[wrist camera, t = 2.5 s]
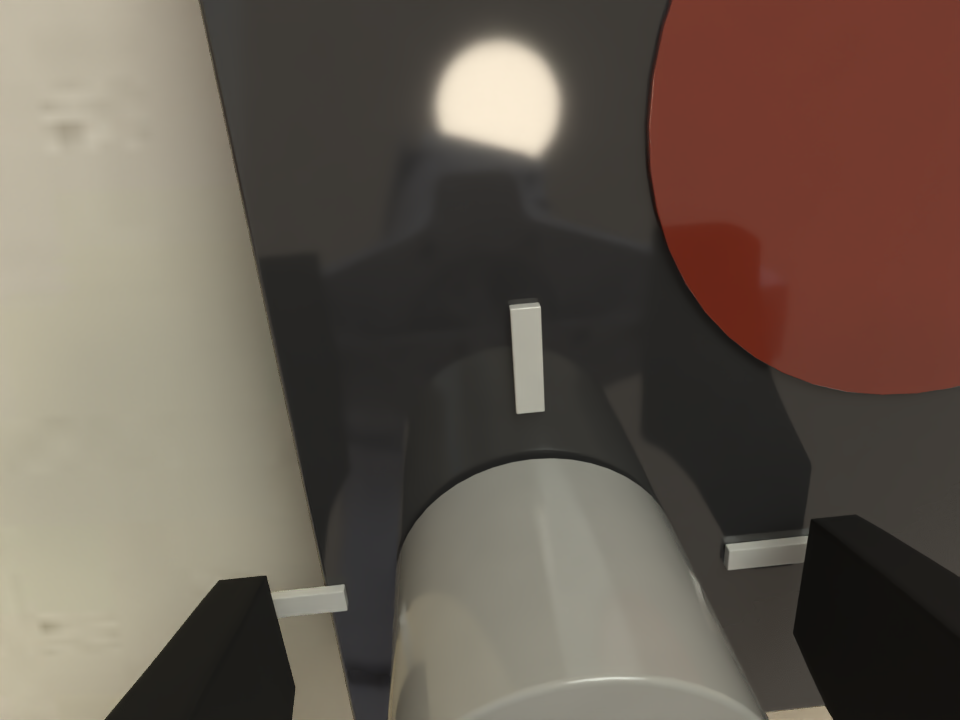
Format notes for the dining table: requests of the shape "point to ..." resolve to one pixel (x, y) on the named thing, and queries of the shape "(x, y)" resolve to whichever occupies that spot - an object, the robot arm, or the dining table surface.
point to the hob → (525, 312)
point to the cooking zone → (816, 182)
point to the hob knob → (556, 606)
